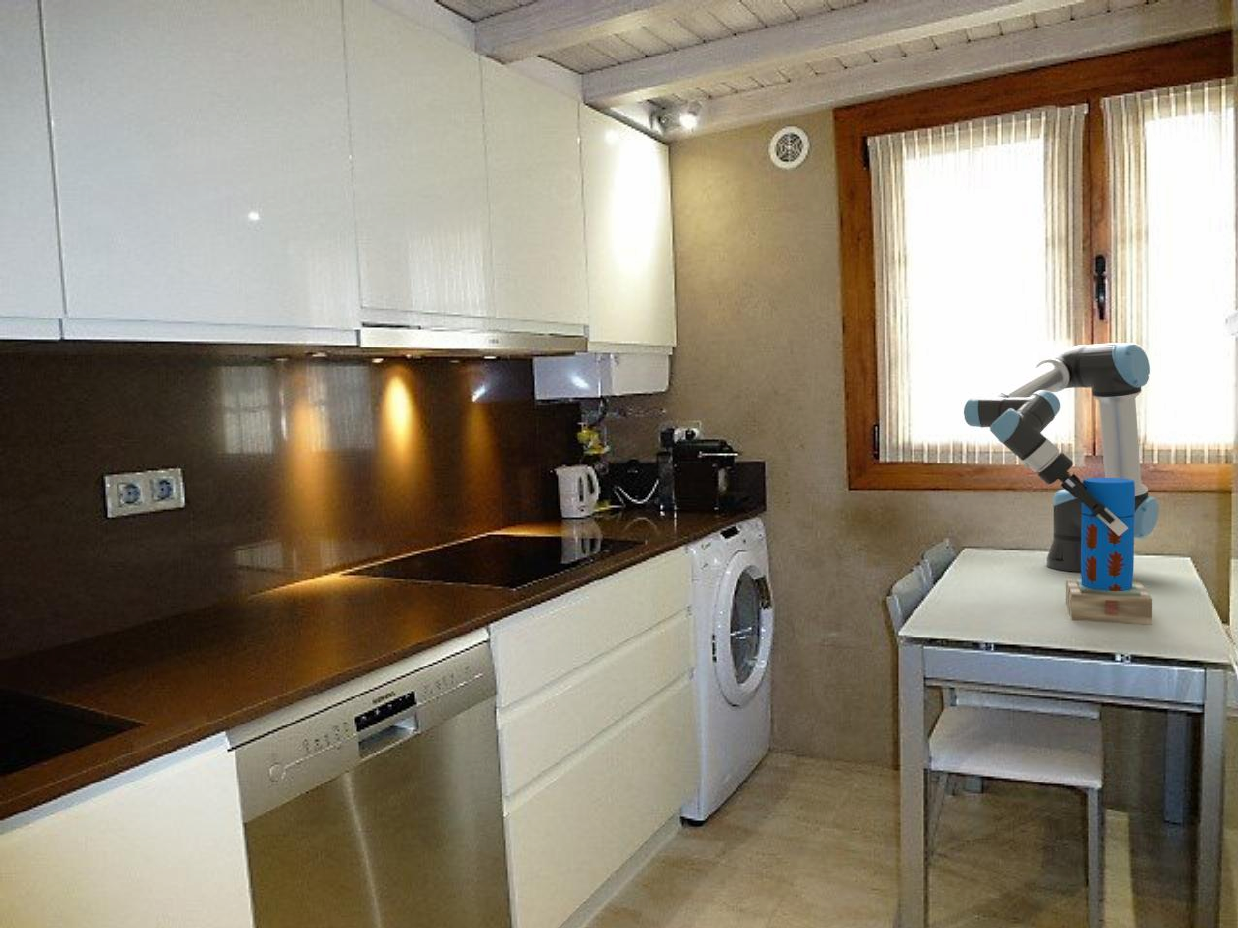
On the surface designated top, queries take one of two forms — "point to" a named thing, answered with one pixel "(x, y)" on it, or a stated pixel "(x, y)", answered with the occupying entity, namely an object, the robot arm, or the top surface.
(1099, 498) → the thermos
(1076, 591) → the wooden box
